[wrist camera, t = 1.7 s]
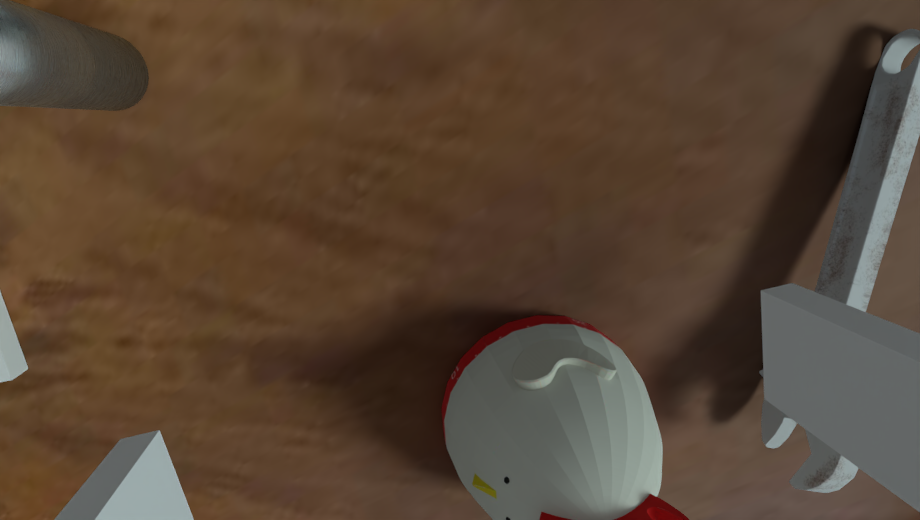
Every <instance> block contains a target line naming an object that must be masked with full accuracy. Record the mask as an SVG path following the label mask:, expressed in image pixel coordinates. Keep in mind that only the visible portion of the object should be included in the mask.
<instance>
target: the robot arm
mask: <svg viewBox="0 0 920 520" xmlns="http://www.w3.org/2000/svg"><path fill="white" fill-rule="evenodd" d="M761 317H762V346H763V375H764V399H765V400H766V401H768V402H769V403H771V404H772V405H773V406H775V407H776V408H777V409H779V410H780V411H782V412H783V413H784V414H786V415H787V416H788V417H790V418H791V419H793V420H794V421H795V422H797V423H798V424H799V425H801V426H802V427H803V428H805V429H806V430H808V431H809V432H810V433H812V434H813V435H814V436H816V437H817V438H819V439H820V440H821V441H823V442H824V443H825V444H827V445H828V446H830V447H831V448H832V449H834V450H835V451H836V452H838V453H839V454H840V455H842V456H843V457H845V458H846V459H847V460H849V461H850V462H851V463H853V464H854V465H856V466H857V467H858V468H860V469H861V470H862V471H864V472H865V473H867V474H868V475H869V476H871V477H872V478H873V479H875V480H876V481H878V482H879V483H880V484H882V485H883V486H884V487H886V488H887V489H888V490H890V491H891V492H893V493H894V494H895V495H897V496H898V497H899V498H901V499H902V500H904V501H905V502H906V503H908V504H909V505H910V506H912V507H913V508H915V509H916V510H917V511H919V512H920V334H919V333H917V332H914V331H912V330H909V329H907V328H904V327H902V326H899V325H897V324H894V323H892V322H889V321H887V320H884V319H882V318H879V317H877V316H874V315H871V314H869V313H866V312H864V311H861V310H859V309H856V308H854V307H851V306H849V305H846V304H844V303H841V302H839V301H836V300H834V299H831V298H829V297H826V296H824V295H821V294H819V293H816V292H814V291H811V290H808V289H806V288H803V287H801V286H798V285H796V284H793V283H790V284H786V285H782V286H778V287H773V288H769V289H765V290H761ZM54 520H194V519H193V516H192V514H191V511H190V508H189V506H188V503H187V501H186V498H185V495H184V493H183V490H182V488H181V485H180V482H179V480H178V477H177V475H176V472H175V469H174V467H173V464H172V462H171V459H170V456H169V454H168V451H167V449H166V446H165V443H164V441H163V438H162V436H161V433H160V430H158V431H154V432H149V433H145V434H141V435H136V436H132V437H128V438H123V439H120V440H119V442H118V443H117V444H116V445H115V447H114V448H113V449H112V450H111V451H110V453H109V454H108V455H107V456H106V457H105V459H104V460H103V461H102V462H101V464H100V465H99V466H98V467H97V468H96V470H95V471H94V472H93V473H92V474H91V476H90V477H89V478H88V479H87V481H86V482H85V483H84V484H83V485H82V487H81V488H80V489H79V490H78V491H77V493H76V494H75V495H74V496H73V498H72V499H71V500H70V501H69V502H68V504H67V505H66V506H65V507H64V508H63V510H62V511H61V512H60V513H59V515H58V516H57V517H56V518H55V519H54Z"/></svg>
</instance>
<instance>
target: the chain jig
mask: <svg viewBox="0 0 920 520" xmlns="http://www.w3.org/2000/svg"><path fill="white" fill-rule="evenodd" d="M27 369H28V366H27V364H26V361H25V358H24V355H23V353H22V350H21V347H20V344H19V341H18V339H17V336H16V333H15V330H14V328H13V325H12V322H11V319H10V317H9V314H8V311H7V308H6V306H5V303H4V300H3V297H2V295H1V292H0V382H4V381H10V380H13V379H14V378H16V377H17V376H19V375H20V374H22V373H23V372H25V371H26V370H27Z"/></svg>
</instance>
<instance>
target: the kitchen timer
mask: <svg viewBox="0 0 920 520" xmlns="http://www.w3.org/2000/svg"><path fill="white" fill-rule="evenodd" d="M442 420H443V433H444V438H445V443H446V447H447V450H448V453H449V455H450V457H451V460H452V462H453V464H454V466H455V469H456V471H457V473H458V476H459V478H460V480H461V481H462V483H463V485H464V486H465V487H466V489H467V490H468V491H469V492H470V494H471V495H472V496H473V497H474V499H475V500H476V501H477V502H478V503H479V504H480V506H481V507H482V508H483V509H484V510H485V511H486V512H487V513H488V514H489V516H490V517H491V518H492V519H493V520H689V519H688V518H687V517H686V516H685V515H684V514H682V513H681V512H680V511H678V510H677V509H675V508H674V507H672V506H671V505H669V504H668V503H666V502H665V501H663V500H661V499H660V498H658V497H657V496H658V493H659V490H660V486H661V479H662V453H663V451H662V440H661V435H660V431H659V428H658V425H657V421H656V418H655V414H654V411H653V408H652V405H651V402H650V398H649V395H648V393H647V390H646V387H645V385H644V382H643V380H642V378H641V377H640V375H639V373H638V372H637V371H636V369H635V368H634V366H633V365H632V364H631V362H630V361H629V359H628V358H627V357H626V355H625V354H624V352H623V351H622V350H621V348H619V347H618V346H617V345H616V344H615V343H614V342H613V341H612V340H611V339H610V338H608V337H607V336H606V335H604V334H603V333H601V332H600V331H599V330H597V329H596V328H595V327H593V326H592V325H590V324H588V323H584V322H581V321H578V320H575V319H572V318H569V317H566V316H545V315H536V316H532V317H528V318H524V319H520V320H516V321H512V322H508V323H506V324H505V325H503V326H501V327H499V328H497V329H496V330H494V331H492V332H490V333H489V334H487V335H485V336H483V337H482V338H481V339H480V340H479V341H478V342H477V343H476V344H475V345H474V346H473V347H472V348H471V349H470V350H469V351H468V352H467V353H466V354H465V355H464V356H463V357H462V358H461V359H460V361H459V363H458V365H457V366H456V368H455V370H454V372H453V373H452V375H451V377H450V379H449V380H448V382H447V387H446V391H445V395H444V399H443V404H442Z"/></svg>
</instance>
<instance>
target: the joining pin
mask: <svg viewBox="0 0 920 520" xmlns="http://www.w3.org/2000/svg"><path fill="white" fill-rule="evenodd" d="M148 79H149V78H148V69H147V66H146V63H145V61H144V59H143V57H142V55H141V54H140V52H139V51H138V50H137V49H136V48H135V47H134V46H133V45H132V44H131V43H130V42H128V41H127V40H125V39H123V38H121V37H119V36H116V35H113V34H110V33H107V32H104V31H101V30H98V29H95V28H92V27H89V26H86V25H83V24H80V23H77V22H74V21H71V20H68V19H65V18H62V17H59V16H56V15H53V14H50V13H47V12H44V11H41V10H38V9H35V8H32V7H29V6H26V5H23V4H20V3H17V2H14V1H11V0H0V106H20V107H42V108H64V109H86V110H108V111H119V110H125V109H128V108H130V107H132V106H134V105H135V104H137V103H138V102H139V101H140V100H141V99H142V97H143V96H144V94H145V92H146V90H147V86H148Z"/></svg>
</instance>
